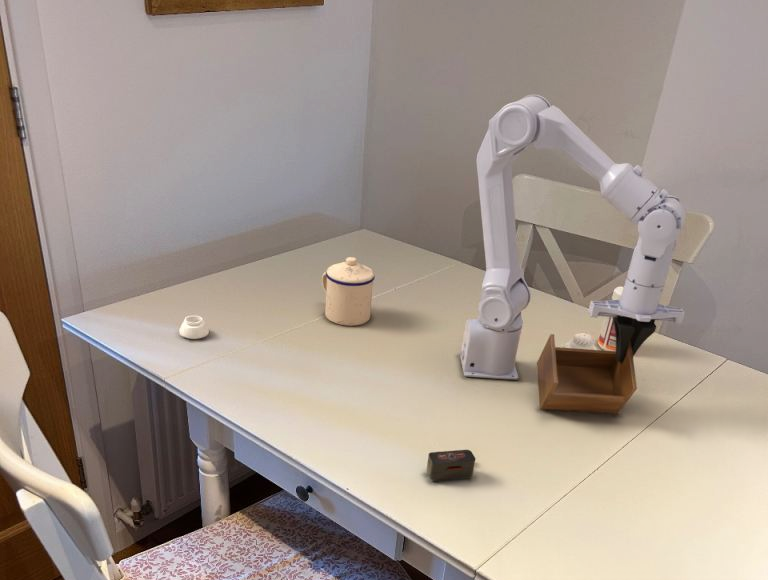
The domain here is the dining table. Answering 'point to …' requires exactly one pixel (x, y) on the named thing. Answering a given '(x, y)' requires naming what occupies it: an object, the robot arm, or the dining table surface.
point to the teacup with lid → (348, 292)
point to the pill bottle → (609, 327)
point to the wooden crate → (584, 379)
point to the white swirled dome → (581, 342)
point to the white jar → (193, 328)
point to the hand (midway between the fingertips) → (622, 359)
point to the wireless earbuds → (450, 465)
